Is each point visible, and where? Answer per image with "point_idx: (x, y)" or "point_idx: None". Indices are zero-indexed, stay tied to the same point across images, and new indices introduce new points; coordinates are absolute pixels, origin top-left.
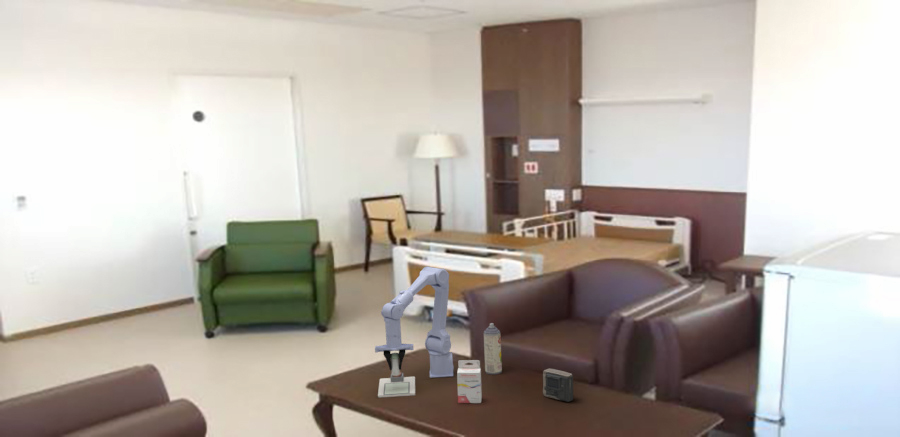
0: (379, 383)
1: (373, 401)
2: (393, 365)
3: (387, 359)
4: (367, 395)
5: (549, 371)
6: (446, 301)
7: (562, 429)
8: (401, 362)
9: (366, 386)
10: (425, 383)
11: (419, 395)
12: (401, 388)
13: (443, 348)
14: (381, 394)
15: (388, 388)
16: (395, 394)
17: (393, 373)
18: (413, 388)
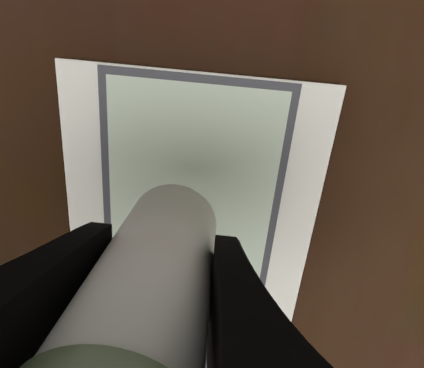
0: (295, 297)
1: (391, 8)
2: (175, 260)
3: (302, 361)
4: (404, 149)
5: None
6: None
7: None
8: (3, 266)
9: (373, 295)
10: (15, 246)
11: (31, 43)
12: (158, 174)
13: None
14: (314, 100)
15: (249, 199)
16: (207, 72)
17: (197, 204)
18: (74, 156)
